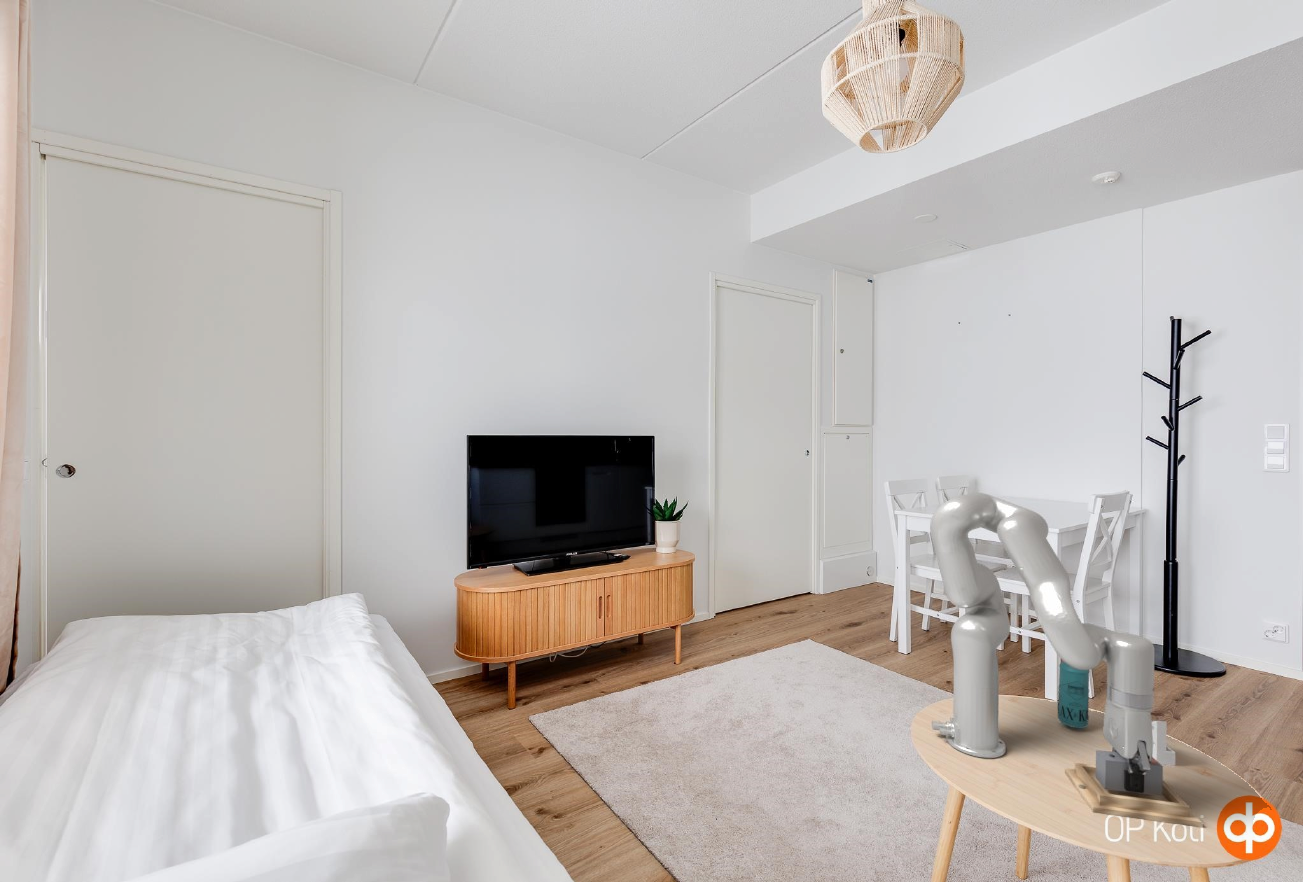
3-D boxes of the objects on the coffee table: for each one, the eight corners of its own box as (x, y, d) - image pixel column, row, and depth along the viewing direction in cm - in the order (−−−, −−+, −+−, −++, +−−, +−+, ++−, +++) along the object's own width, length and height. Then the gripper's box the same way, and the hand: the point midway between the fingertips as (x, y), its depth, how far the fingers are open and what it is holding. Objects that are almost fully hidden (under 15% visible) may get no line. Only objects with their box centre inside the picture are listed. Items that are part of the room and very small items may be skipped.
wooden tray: (1093, 812, 120) (1093, 797, 119) (1064, 772, 133) (1064, 759, 133) (1202, 827, 115) (1202, 811, 115) (1161, 784, 128) (1161, 771, 128)
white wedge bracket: (1169, 764, 132) (1157, 720, 136) (1144, 764, 141) (1134, 723, 145) (1188, 766, 131) (1175, 722, 135) (1162, 766, 140) (1151, 725, 144)
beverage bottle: (1052, 720, 156) (1053, 644, 156) (1080, 722, 155) (1081, 645, 155) (1065, 733, 150) (1066, 653, 149) (1095, 735, 149) (1096, 655, 148)
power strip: (1105, 789, 123) (1105, 758, 123) (1095, 777, 127) (1096, 748, 127) (1162, 795, 121) (1162, 765, 121) (1150, 784, 125) (1151, 754, 125)
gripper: (1090, 677, 133) (1088, 759, 133) (1128, 713, 116) (1127, 806, 117) (1130, 681, 131) (1128, 764, 131) (1175, 718, 114) (1173, 812, 115)
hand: (1127, 783), depth 124 cm, fingers closed on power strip, 4 cm apart
